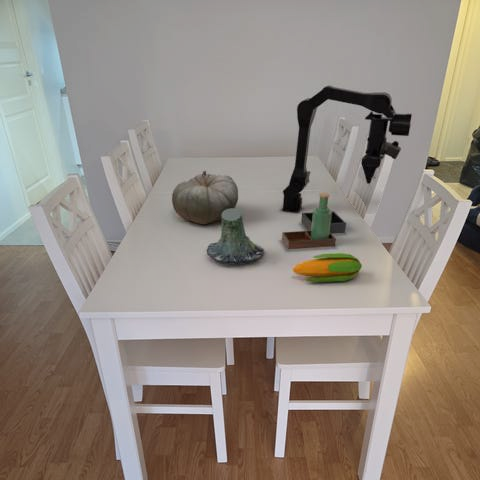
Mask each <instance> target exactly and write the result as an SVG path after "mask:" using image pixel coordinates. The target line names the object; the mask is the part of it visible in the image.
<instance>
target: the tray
mask: <svg viewBox="0 0 480 480" xmlns="http://www.w3.org/2000/svg"><path fill="white" fill-rule="evenodd" d="M331 211H332V210H331ZM312 218H313V211H312V212H311V211H310V212H302V213H301V221H300V222H301V225H303V226H304V228H305V229H306V231H311V228H312ZM346 228H347V222H346V221H345V220H344V219H343V218H342V217H341V216H339V214H338V213H336V211H334V210H333V211H332V217H331V225H330V233H331V234H332V235H334V234H346Z"/></svg>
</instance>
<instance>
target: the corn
mask: <svg viewBox="0 0 480 480" xmlns="http://www.w3.org/2000/svg"><path fill="white" fill-rule="evenodd" d="M312 258H313V259H310V260H306V261H303V262H300V263H297V264H296V265H295V266H293V268H292V271H293V273H295V274H296V275H300V276H304V277H308V278H305V279H304V281H305V282H313V283H331V282H332V283H333V282H346V281H348V280H351V279H353V278H354V277H355V276H356V275H357V274H358V273H359V272H360V271H361V269H362V267H363V265H362V263H361V261H360V260H359V258H357V257H355V256H354V255H353V254H349V253H341V252H340V253H339V252H336V253H321V254H317V255H314V256H312Z"/></svg>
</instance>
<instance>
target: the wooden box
mask: <svg viewBox="0 0 480 480" xmlns="http://www.w3.org/2000/svg"><path fill="white" fill-rule="evenodd" d="M281 233H282V234H281V241H282V242H283V244H284V245H285V248H287V250H299V249H315V248H329V247H336V242H337V238H336V237H335V236H334V234H331V233H329V239H318V240H313V239H312V238H311V231H308V230H299V231H282V232H281Z"/></svg>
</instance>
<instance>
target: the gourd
mask: <svg viewBox="0 0 480 480" xmlns="http://www.w3.org/2000/svg"><path fill="white" fill-rule="evenodd" d="M238 201H239V189H238V185H237V183H236V182H235V180H234V179H233V178H232V177H231V176H230V175H227V174H212V173H211V174H210V173H207V171H206V170H203V171H202V173H200V174H196V175H195V176H194V177H193V178H190V179H189V180H187V181H182V182H180V183H178V184H177V185H176V187H174V189H173V191H172V195H171V203H172V207H173V210H174V211H175V213H176V214H177V215H178V216H179V217H180V218H181V219H183V220H185V221H187V222H193V223H195V224H198V225H207V224H209V223H212V222H215V221H219V220H222V212H223V211H224V210H226V209H231V208H236V207H237V204H238Z"/></svg>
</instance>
